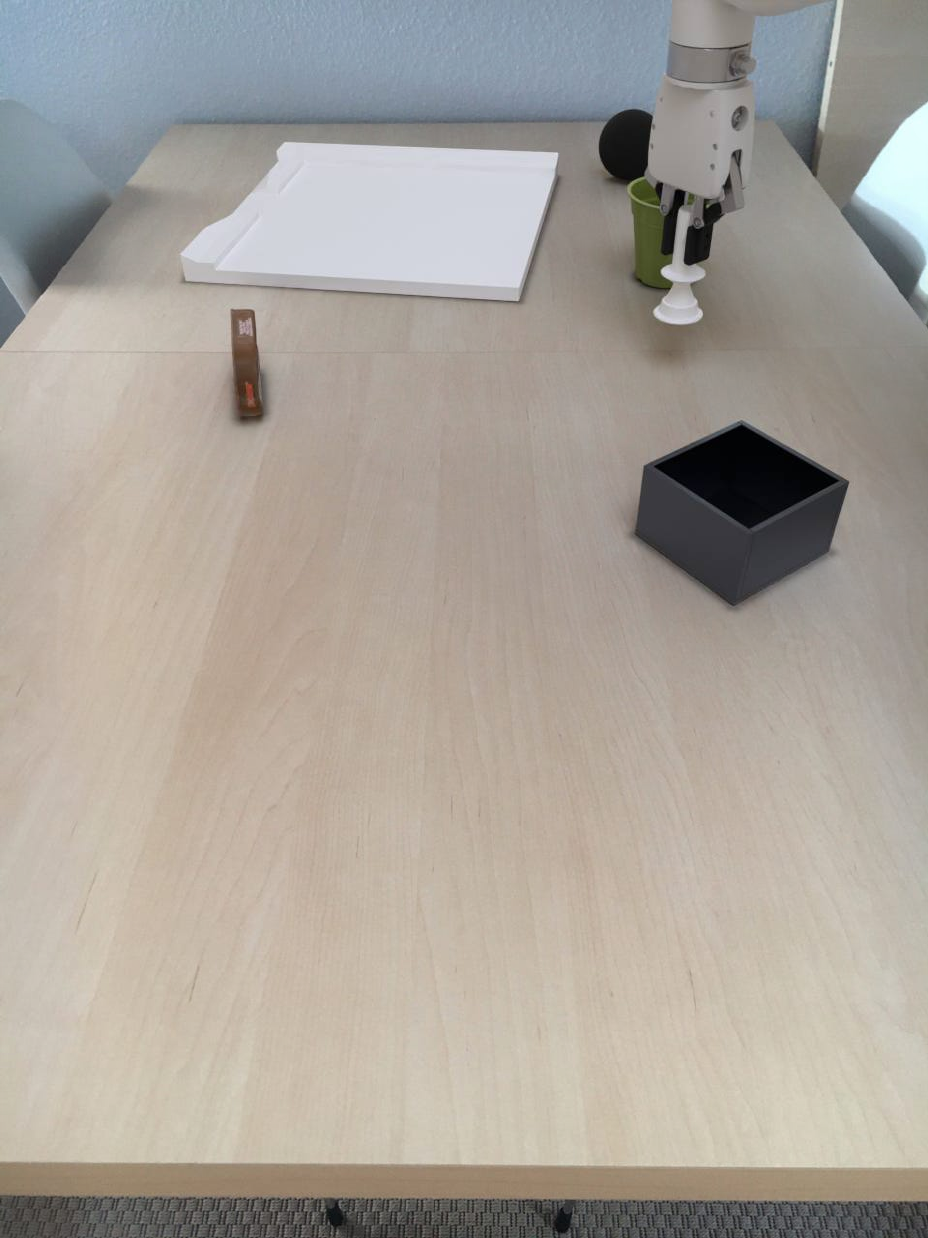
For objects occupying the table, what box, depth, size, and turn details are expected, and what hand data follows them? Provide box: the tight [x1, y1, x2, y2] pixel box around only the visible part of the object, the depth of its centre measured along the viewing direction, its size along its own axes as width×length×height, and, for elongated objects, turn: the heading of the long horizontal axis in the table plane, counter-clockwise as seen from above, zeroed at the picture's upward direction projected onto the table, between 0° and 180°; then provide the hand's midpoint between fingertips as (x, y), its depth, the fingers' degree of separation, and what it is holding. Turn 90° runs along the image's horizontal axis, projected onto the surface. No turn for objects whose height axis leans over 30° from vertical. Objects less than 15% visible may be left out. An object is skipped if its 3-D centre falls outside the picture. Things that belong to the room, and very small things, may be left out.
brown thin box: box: [230, 308, 264, 418], centre depth 107 cm, size 15×3×8 cm, turn 10°
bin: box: [634, 419, 850, 606], centre depth 87 cm, size 12×12×8 cm
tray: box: [179, 141, 559, 302], centre depth 144 cm, size 45×45×4 cm
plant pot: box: [626, 176, 724, 289], centre depth 126 cm, size 12×12×11 cm
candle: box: [653, 203, 707, 326], centre depth 105 cm, size 5×5×12 cm
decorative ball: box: [598, 108, 653, 181], centre depth 154 cm, size 10×10×10 cm
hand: (684, 255), depth 104 cm, fingers closed on candle, 2 cm apart
